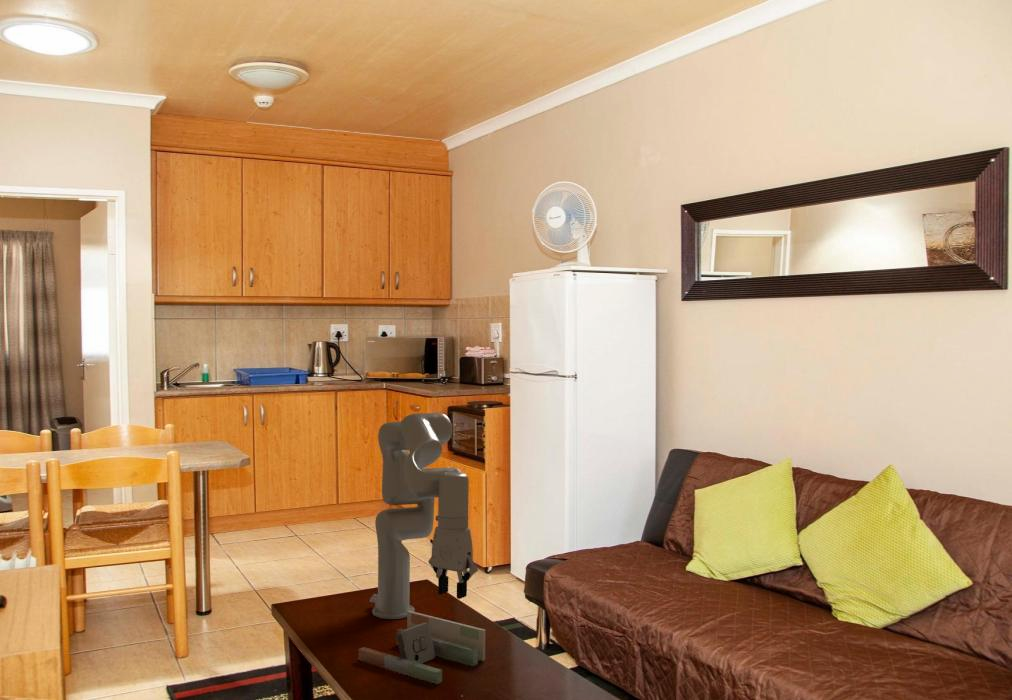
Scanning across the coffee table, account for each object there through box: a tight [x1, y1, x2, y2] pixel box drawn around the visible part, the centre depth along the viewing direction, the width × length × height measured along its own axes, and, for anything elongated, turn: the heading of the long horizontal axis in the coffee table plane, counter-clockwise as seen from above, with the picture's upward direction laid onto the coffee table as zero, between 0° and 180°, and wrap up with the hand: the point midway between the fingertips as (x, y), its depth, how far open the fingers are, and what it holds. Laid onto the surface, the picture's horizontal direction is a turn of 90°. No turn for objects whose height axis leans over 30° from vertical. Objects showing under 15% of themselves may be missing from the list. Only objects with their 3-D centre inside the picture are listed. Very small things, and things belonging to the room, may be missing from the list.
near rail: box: [357, 646, 443, 685], centre depth 216 cm, size 26×2×3 cm, turn 55°
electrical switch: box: [396, 623, 436, 664], centre depth 223 cm, size 9×5×9 cm, turn 141°
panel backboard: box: [406, 611, 486, 662], centre depth 231 cm, size 26×1×8 cm, turn 55°
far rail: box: [395, 627, 479, 667], centre depth 228 cm, size 26×2×4 cm, turn 55°
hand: (452, 594), depth 215 cm, fingers open, 5 cm apart
